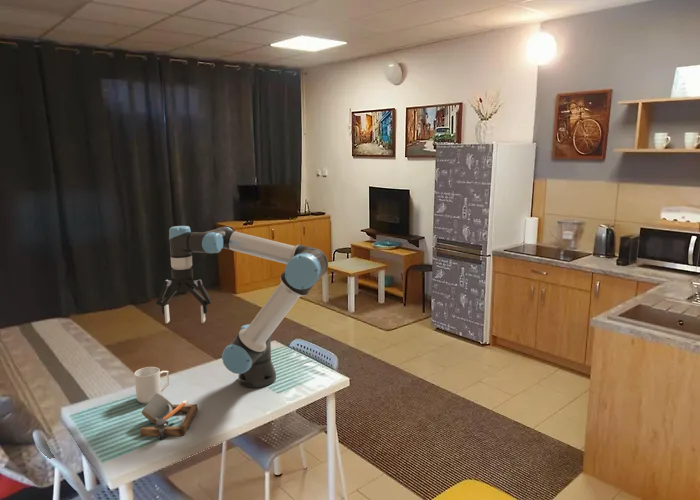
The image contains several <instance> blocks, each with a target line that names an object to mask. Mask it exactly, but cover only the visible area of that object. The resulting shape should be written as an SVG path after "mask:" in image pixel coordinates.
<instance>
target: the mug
mask: <svg viewBox="0 0 700 500" xmlns="http://www.w3.org/2000/svg"><path fill="white" fill-rule="evenodd" d="M169 372H170V371H169V370H161V371H160V368H159V367H158V366H157V367H156V366H147V367H142V368H140V369H137V370H136V371H134V374H133V375H134V384H135V387H134V388H135V397H136V401H138V402H139V403H141V404H146V405H147V404H148V403H149V402H150V400H151V399H152V398H153V397H154V395H155V394H156V393H159V394H160V395H162V394H163V391H164V390H166V388H167V387H168V386H169V384H170V382H169V381H170V380H169V379H170V377H169ZM165 373H166V383H165V385H164V386H162V382H161V375H162V374H165Z"/></svg>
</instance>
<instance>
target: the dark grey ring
mask: <svg viewBox="0 0 700 500" xmlns="http://www.w3.org/2000/svg"><path fill="white" fill-rule="evenodd" d="M168 426H169V421H168V420H166V424H165V425H162V426H157V425H156V423H155V424H154V423H153V427H155V428H158V429H159V436H158V437H159V441H163V440H165V439H166V436H165V428H164V427H168Z"/></svg>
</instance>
